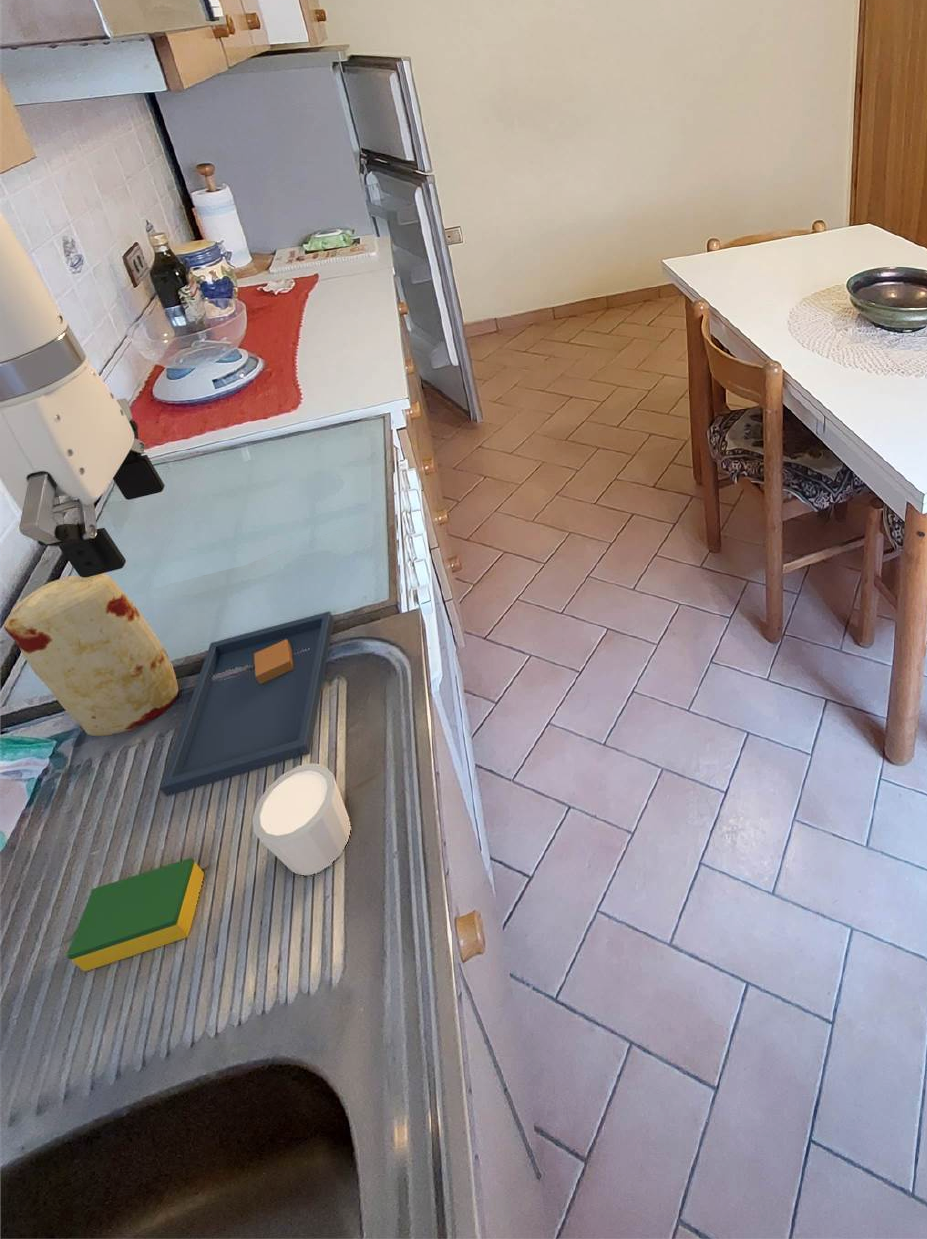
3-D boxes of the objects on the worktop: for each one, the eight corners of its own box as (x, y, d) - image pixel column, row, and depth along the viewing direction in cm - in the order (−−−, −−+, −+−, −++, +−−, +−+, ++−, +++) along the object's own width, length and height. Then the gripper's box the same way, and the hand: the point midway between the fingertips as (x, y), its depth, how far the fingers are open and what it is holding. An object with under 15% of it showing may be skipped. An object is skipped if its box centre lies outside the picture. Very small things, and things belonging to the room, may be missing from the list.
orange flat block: (260, 684, 83) (255, 676, 82) (258, 661, 86) (253, 653, 85) (294, 668, 84) (289, 660, 84) (291, 646, 87) (286, 638, 86)
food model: (88, 762, 77) (-16, 637, 67) (94, 713, 82) (-2, 590, 72) (192, 712, 81) (108, 587, 72) (192, 668, 86) (113, 546, 77)
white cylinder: (283, 821, 70) (256, 780, 67) (358, 791, 72) (336, 750, 68) (276, 898, 64) (246, 857, 61) (357, 864, 66) (332, 822, 63)
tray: (168, 799, 73) (159, 787, 72) (217, 654, 88) (210, 642, 87) (311, 756, 75) (304, 744, 74) (335, 622, 90) (330, 610, 89)
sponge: (83, 972, 61) (66, 956, 59) (108, 905, 65) (92, 888, 64) (188, 937, 62) (173, 920, 61) (205, 873, 67) (191, 856, 65)
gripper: (20, 325, 62) (117, 479, 70) (-111, 443, 47) (30, 620, 55) (119, 306, 63) (201, 459, 72) (21, 415, 48) (139, 592, 57)
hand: (126, 529), depth 63 cm, fingers open, 9 cm apart
